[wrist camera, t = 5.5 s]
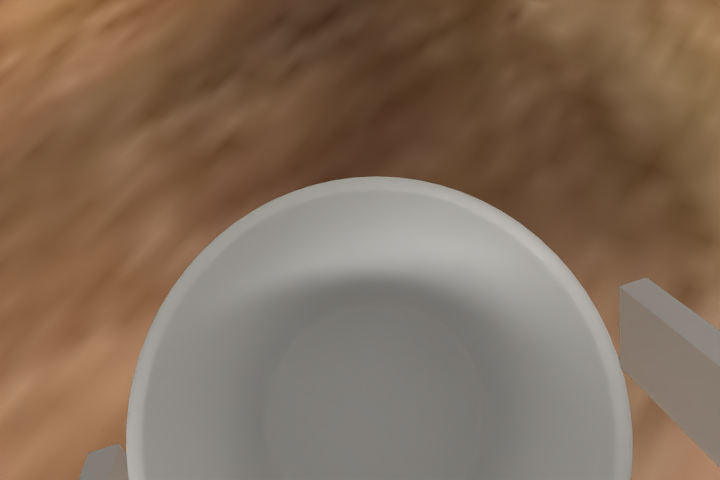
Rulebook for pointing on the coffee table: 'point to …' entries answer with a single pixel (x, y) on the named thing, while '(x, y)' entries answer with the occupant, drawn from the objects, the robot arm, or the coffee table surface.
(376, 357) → the cup
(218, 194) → the coffee table surface
